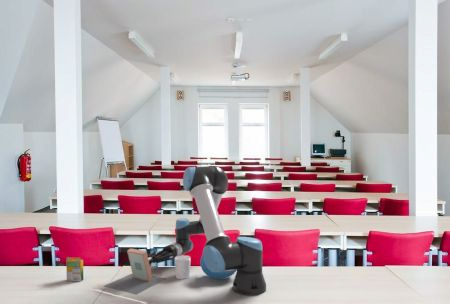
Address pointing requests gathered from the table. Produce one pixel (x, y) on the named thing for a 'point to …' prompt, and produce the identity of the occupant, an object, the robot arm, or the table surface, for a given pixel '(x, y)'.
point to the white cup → (182, 266)
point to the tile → (140, 264)
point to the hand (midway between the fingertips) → (142, 263)
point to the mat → (134, 284)
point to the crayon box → (74, 269)
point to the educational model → (216, 274)
